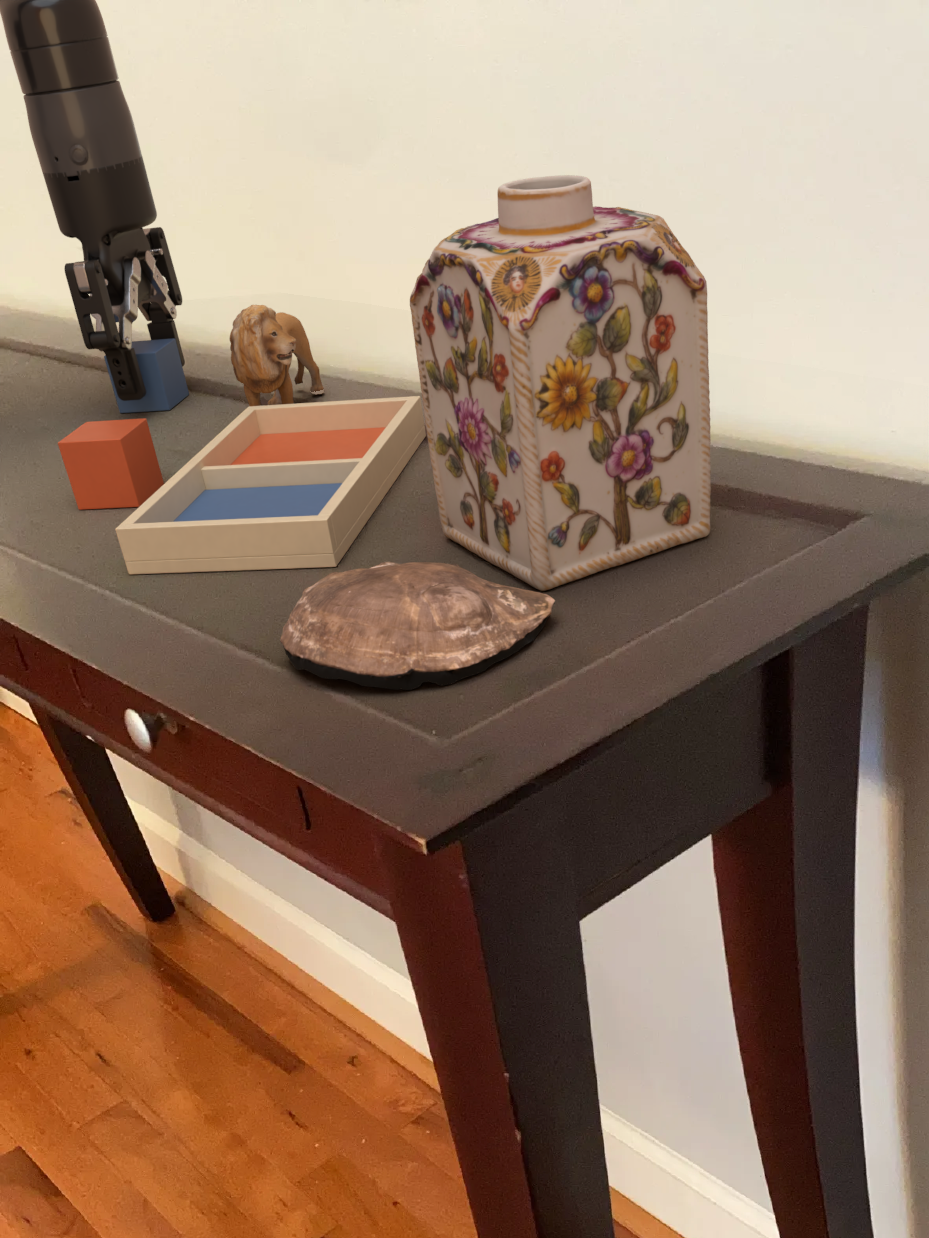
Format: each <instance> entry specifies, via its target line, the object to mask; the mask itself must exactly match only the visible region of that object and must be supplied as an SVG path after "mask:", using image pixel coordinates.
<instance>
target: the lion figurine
mask: <svg viewBox="0 0 929 1238" xmlns="http://www.w3.org/2000/svg"><path fill="white" fill-rule="evenodd" d="M229 342H230V346H229V349H230V362H231V364H232V367H233V368H232V369H233V374H234V376H235V378H236V381H238V382H239V383H240V384H242V385H243V391H244V396H245V398H246V400H247V402H248V407H249V406H263V405H262V402H261V401H262V400H261V394H271V393H273V395H272V397H271V398H270V399H269V400H268V401H267V405H281V404H295V401H294V388H293V382H292V379H291V376H290V371H289V370H290V368H291V364H292V361H293V355H294V356H295V357H296V360H297V371H296V375H295V376H294V383H295V385H296V386H298V385H299V384H303V383H304V381H303V378H304V374H305V369H306V370H307V371H308V373H309V376H310V379H311V380H310V381H311V386H310V388H309V392H310V391H311V392H314V391H315V392H316V391H320V390H323V389H324V390H325V388H324V386H323V382H322V379H321V375H320V368H319V366H318V364H317V363H316V361H315V360H314V357H313V354H312V351H311V345H310V341H309V338H308V336H307V332H306V330H305V328H304V326H303V323H302V322H301V320H300V319H299V318H297V316H295V315H293V314H289V313H286V312H281V311H280V312H276V311H275V310H274V309H273V308H271V307H268V306H267V305H265V304H250V305H249V306H248V307H246V308H243V309H242V310H241V311H240V313H238V314H237V315H236V317H235V319H234V320H233V322H232V329H231V331H230V334H229ZM311 392H310V393H311Z"/></svg>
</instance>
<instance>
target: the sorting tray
mask: <svg viewBox="0 0 929 1238" xmlns="http://www.w3.org/2000/svg"><path fill="white" fill-rule="evenodd" d="M426 437H427V430H426V424H425V417H424V410H423V403H422V396H420V395H412V396H395V397H381V398H364V399H348V400H347V399H346V400H332V401H316V402H314V401H313V402H301V403H294V404H281V405H268V404H267V405H262V406H249V405H248V406H247V407H246V408H245V409H244V410H243V411H241V413H240V414H239V415H237V416H236V417H235V418H234V419H233V420H232V421H231V422H230V423H228V424H227V426H226V427H224V428H223V429H222V430H221V431H220V432H219V433H218V434H217V435H216V436H214V438H212V439H211V440H210V441H209V442H208V443H207V444H206V445H205V446H204V447H203V448H201V450H199V452H197V453H196V454H195V455H194V456H193V457H192V458H191V459H190V460H188V461H187V463H185V464H184V465H183V466H182V467H181V468H180V469H178V471H176V473H174V474H173V475H172V476H171V477H170V478H169V479H168V480H167V481H165V482H164V485H162V486H161V487H160V488H159V489H158V490H157V491H156V492H155V493H154V494H153V495H152V496H151V497H149V498H148V499H147V500H146V501H145V502H144V503H143V504H142V505H141V506H140V507H137V508H136V509H135V510H134V511H133V512H132V513H131V514H129V515H128V516H127V518H126V519H124V520H123V521H122V522H121V523H119V525H118V526H117V527H115V533H116V536H117V540H118V543H119V547H120V551H121V553H122V557H123V559H124V562H125V566H126V570H127V573H128V575H151V574H178V573H179V574H181V573H207V572H230V571H231V572H233V571H235V572H236V571H257V570H258V571H260V570H261V571H262V570H264V571H265V570H289V569H315V568H317V569H318V568H336V567H338V565H339V563H340V562H341V560H342V559H343V558H344V556H345V555H346V553H347V552H348V551H349V549H350V547H351V546H352V544H353V543H354V542H355V540H356V539H357V537H358V536H359V534H360V533H361V531H362V530H363V529H364V527H365V525H366V524H367V522H368V521H369V520H370V518H372V516H373V514H374V513H375V512H376V509H377V508H378V507H379V505H380V504H381V502H382V501H383V499H384V498H385V497H386V495H387V493H388V492H389V491H390V489H391V488H392V486H393V485H394V483H395V482H396V480H397V479H398V477H399V476H400V475H401V473H402V471H403V470H404V469H405V467H406V466H407V465H408V463H409V461H410V460H411V459H412V457H413V456H414V454H416V453H415V452H416V451H417V450H418V449H419V447H420V446H421V444H422V443H423V441H424V440H425V438H426Z"/></svg>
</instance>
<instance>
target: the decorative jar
mask: <svg viewBox="0 0 929 1238" xmlns="http://www.w3.org/2000/svg"><path fill="white" fill-rule="evenodd" d="M592 190H593V189H592V181H591V180H590V178H588V177H586V176H583V175H575V174H572V175H570V174H560V175H548V176H537V177H536V176H535V177H534V176H533V177H528V178H527V177H526V178H520V179H516V180H512V181H508V182H505V183H503V184H501V185H500V186H498V188H497V218H493V219H491V220H488V221H484V222H481V223H474V224H472V225H467V226H465V227H461V228H458V229H457V230H455V231H453V233H451V234H450V235H448V236H446V237H444V238H443V239H441V240H440V241H439V242H438V244H437V245H436V246H435V247H434V248H433V250H432V252H431V254H430V256H429V258H428V259H427V260H426V261H425V264H424V266H423V268H422V272H421V273H420V274H419V275H418V276H417V277H416V281H415V284H414V287H413V289H412V291H411V293H410V296H409V307H410V308H409V309H410V314H411V323H412V330H413V339H414V348H415V354H416V361H417V368H418V375H419V385H420V392H421V399H422V407H423V416H424V424H425V431H426V437H427V438H426V439H427V445H428V451H429V458H430V465H431V469H432V478H433V483H434V489H435V492H434V493H435V495H436V501H437V509H438V514H439V521H440V525H441V529H442V533H443V535H444V536H445V537H446V538H448V539H450V540H451V541H453V542H454V543H456V544H458V545H460V546H461V547H464V548H465V550H468V551H469V552H471V553H473V554H475V555H477V556H478V557H479V558H481V559H483V560H485V561H486V562H488V563H490V564H491V565H494V566H495V567H497V568H499V569H500V570H503V571H505V572H507V573H508V574H510V575H512V576H514V577H515V578H517V579H518V580H521V582H524V583H526V584H527V585H529V586H531V587H533V589H536V590H538V591H540V592H545V591H549V590H552V589H554V588H557V587H560V586H563V585H566V584H568V583H571V582H574V581H578V580H580V579H583V578H586V577H588V576H591V575H594V574H596V573H598V572H602V571H606V570H609V569H611V568H615V567H618V566H621V565H622V566H623V565H625V564H629V563H630V562H634V561H636V560H639V559H642V558H645V557H647V556H651V555H653V554H657V553H660V552H662V551H665V550H668V549H671V548H673V547H676V546H679V545H684V544H687V543H690V542H693V541H695V540H698V539H702V538H706V537H707V536H709V534H710V533H711V493H712V492H711V491H712V488H711V487H712V485H711V480H712V479H711V474H712V470H711V467H712V463H711V457H712V455H711V443H712V442H711V429H712V427H711V405H710V404H711V399H710V394H711V393H710V369H709V330H708V329H709V328H708V323H709V321H708V319H709V318H708V316H709V314H708V313H709V311H708V284H707V280H706V277H705V276H704V274H703V273H702V272H701V271H700V269H699V267H698V266H697V265H696V263H695V262H694V260H693V259H692V257H691V255H690V253H689V252H688V251H687V250H686V249H685V248H684V247H683V245H682V244H681V242H680V241H679V240H678V238H677V236H676V235H675V234H674V231H672V229H671V228H670V226H669V225H668V223H667V221H666V220H665V219H664V217H662V216H660V215H658V214H653V213H649V212H644V211H640V210H639V211H638V210H633V209H630V208H625V207H621V206H617V207H613V206H612V207H604V206H603V207H602V206H596V205H595V206H594V204H593V203H594V202H593V191H592Z"/></svg>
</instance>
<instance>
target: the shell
mask: <svg viewBox="0 0 929 1238" xmlns="http://www.w3.org/2000/svg"><path fill="white" fill-rule="evenodd" d="M301 594H302V595H301V597H300V598H299V599H298V600H297V602H296V603H295V605H294V607H293V609H292V610H291V612H290V614H289V617H288V619H287V621H286V623H285V624H284V626H283V627H282V633H281V635H280V638H279V641H280V642H281V644H282V646H283V651H284V652H285V655H286V656H287V658H288V660H289V661H290V663H291V665H292V666H293V668H294V669H295V670H297V671H299V670H301V671H302V670H305V671H307V672H309V673H311V674H313V675H315V676H318V677H319V678H320V679H328V680H338V679H340V680H345V681H348V682H351V683H354V684H356V685H359V686H361V687H367V688H369V687H371V688H378V689H387V690H395V691H396V690H398V691H399V690H402V691H403V690H404V691H406V690H407V691H411V690H415V689H417V688H419V687H421V686H422V685H423V683H429V682H430V683H432V684H437V685H438V686H447V685H452V684H451V683H453V684H454V683H456V682H457V681H462V680H463V679H465V678H467V677H472V676H477V675H478V674H481V673H482V672H486V670H487V669H488V668H490V666H493V665H494V664H496V663H498V662H502V661H503V660H506V659H507V658H509V657H511V656H512V655H514V654H515V653H518V652H519V651H520V650H521V649H522V648H524V647H525V646H526V645H528V644H530V643H532V642H534V641H535V640H536V638H537V636H538V635H539V634H540V633H541V631H542V630H543V628H544V627H545V625H546V623H547V621H548V618H549V617H550V616H551V615H552V612H553V611H552V610H553V608H554V605H555V603H556V600H555V599H554V598H553V596H552V597H551V596H550V595H549V594H547V593H544V592H543V593H542V592H541V591H540V592H539V591H534V590H528V589H524V588H519V587H515V586H508V585H504V584H499V583H495V582H493V581H490V580H486V579H484V578H481V577H479V576H477V575H476V574H474V573H473V572H472V571H469V570H468V569H465V568H463V567H461V566H459V564H457V563H444V562H429V561H411V562H404V563H397V562H395V561H382V562H380V563H379V564H378V563H377V564H375V565H373V566H371V567H367V568H365V567H359V568H355V569H349V570H345V571H341V572H339V571H332V572H330V573H328V574H327V575H326V576H324V577H322V578H320V579H319V580H318V581H316V582H315V583H314V584H312V585H311V586H308V587H306V588H304V589H303V591H302V593H301Z"/></svg>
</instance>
